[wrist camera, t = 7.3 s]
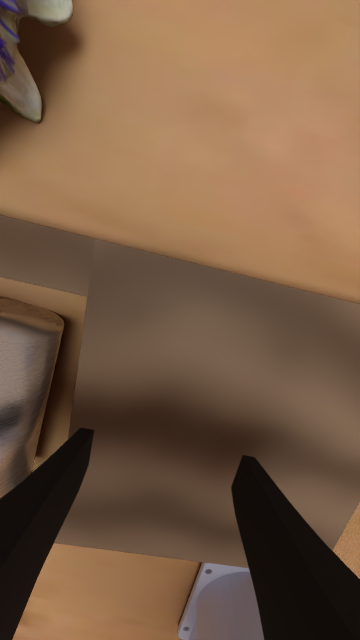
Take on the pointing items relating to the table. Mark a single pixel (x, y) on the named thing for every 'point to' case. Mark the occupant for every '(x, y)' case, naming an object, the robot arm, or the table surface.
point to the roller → (24, 384)
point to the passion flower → (6, 61)
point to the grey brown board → (197, 395)
